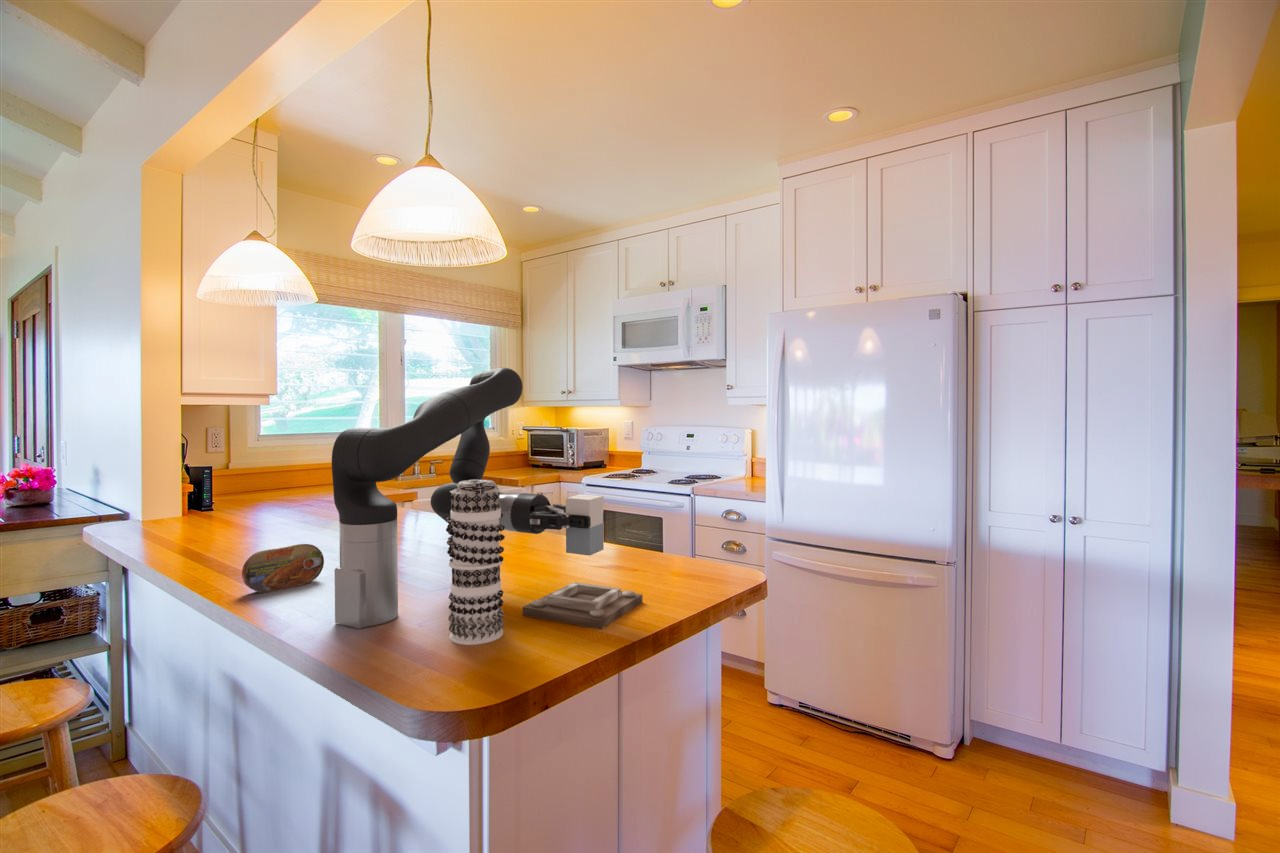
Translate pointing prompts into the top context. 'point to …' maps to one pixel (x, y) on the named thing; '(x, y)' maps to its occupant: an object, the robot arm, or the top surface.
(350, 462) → the robot arm
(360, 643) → the top surface
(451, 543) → the decorative candle
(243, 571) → the tin
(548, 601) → the socket plate
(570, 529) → the post
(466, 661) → the top surface
